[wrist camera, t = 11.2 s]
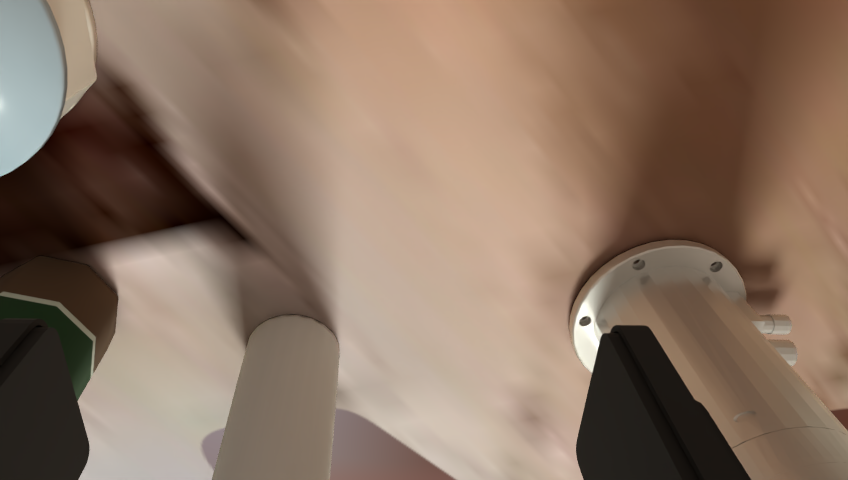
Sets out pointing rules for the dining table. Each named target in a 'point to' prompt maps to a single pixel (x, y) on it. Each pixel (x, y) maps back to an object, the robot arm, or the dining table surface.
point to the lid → (29, 79)
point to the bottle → (283, 404)
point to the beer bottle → (64, 309)
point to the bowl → (77, 46)
